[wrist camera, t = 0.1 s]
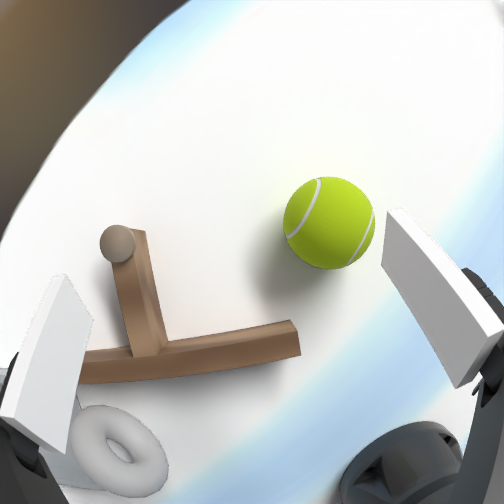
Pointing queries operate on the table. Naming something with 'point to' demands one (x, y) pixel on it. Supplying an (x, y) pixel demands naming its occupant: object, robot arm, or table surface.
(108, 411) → the donut
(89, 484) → the tray
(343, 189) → the tennis ball
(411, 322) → the table surface
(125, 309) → the t rack
